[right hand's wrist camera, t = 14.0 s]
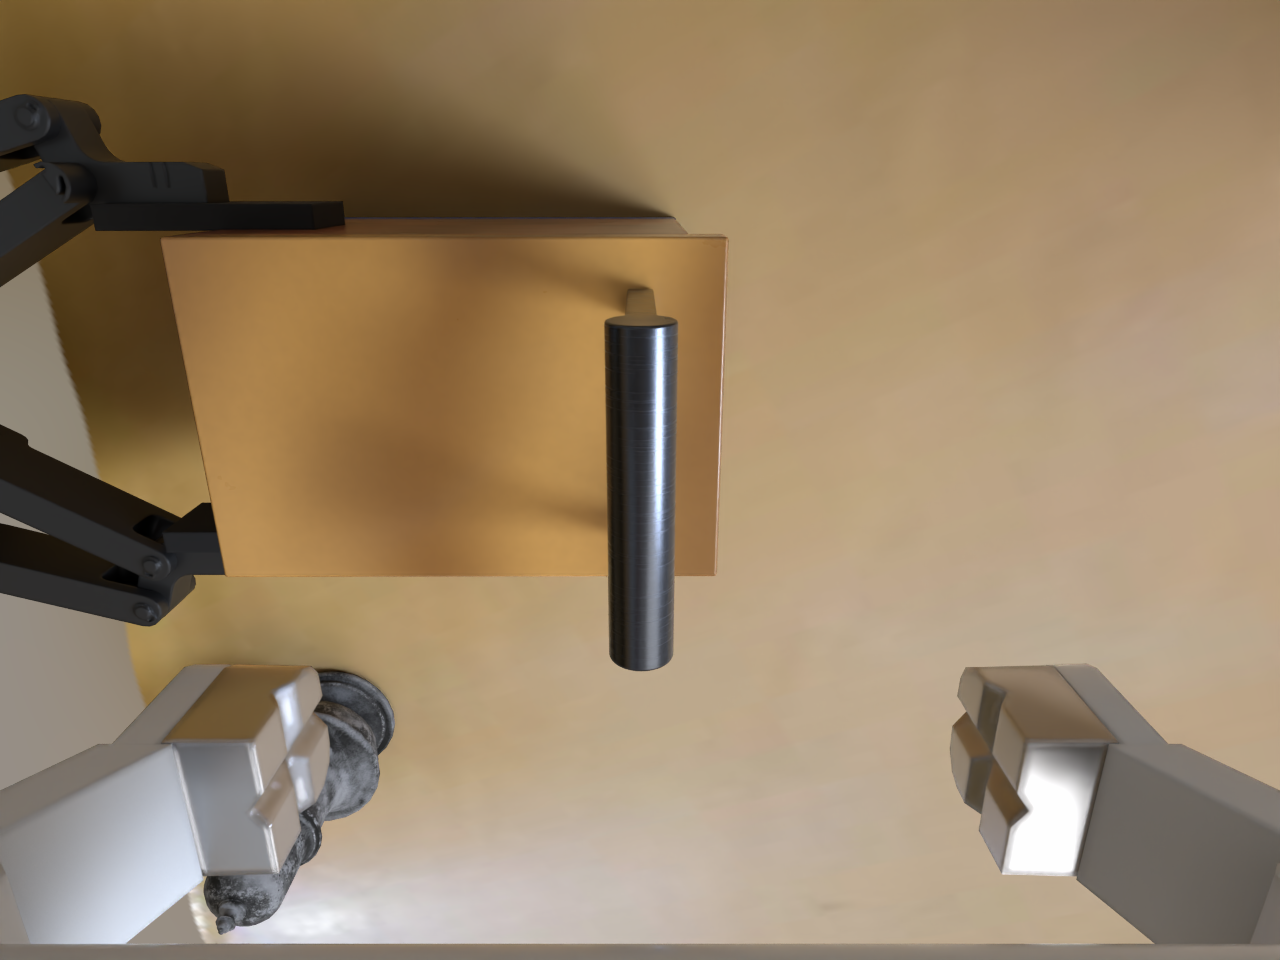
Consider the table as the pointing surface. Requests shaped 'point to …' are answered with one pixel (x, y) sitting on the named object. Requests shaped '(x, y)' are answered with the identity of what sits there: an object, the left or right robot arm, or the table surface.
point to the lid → (462, 408)
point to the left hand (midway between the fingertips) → (350, 381)
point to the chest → (483, 226)
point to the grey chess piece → (350, 783)
